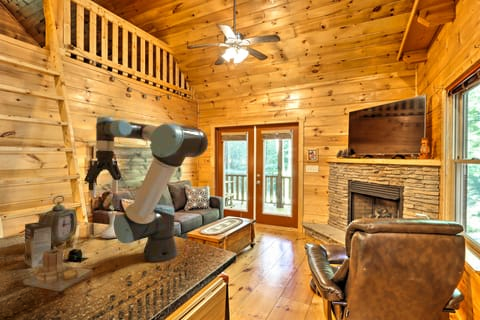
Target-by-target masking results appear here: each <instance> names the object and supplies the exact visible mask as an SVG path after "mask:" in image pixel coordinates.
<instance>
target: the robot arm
mask: <svg viewBox="0 0 480 320" xmlns="http://www.w3.org/2000/svg"><path fill="white" fill-rule="evenodd" d="M95 128H96V129H95V130H96V132H95V133H96V134H95V136H96V137H95V149H96V150H95V158H96V159H97V160H91V161H90V166H89V168H88V171H87V172H86V175H85V177H84V182H86V183H88V188H87V189H88V190H89V192H88V194H89V196H88V197H89V198H96V197H97V196H96V195H97V191H96V190H97V183H96V182H95V181H96V180H97V179H98V178H99V176H100V174H101V173H102V172H103V171H108V173H109V175H110V176H111V177H112V180H111V193H112V194H118V193H119V192H118V189H119V188H118V187H119V181H121V179H122V174H121V171H120V168H119V166H118V164H119V163H118V160H114V157H115V151H114V150H115V138H121V139H122V138H123V139H132V140H133V139H134V140H135V139H136V140H144V141H147V142H150V143H149V147H150V151H151V156H152V157H153V159H152V161H151V163H150V166H149V168H148V170H147V172H146V174H145V177H144V179H143V181H142V183H141V185H140V188H139V189H138V191H137V194H136V196H135V198H134V200H133V203H130V204H128V205H127V206H126V209H125V210H124V213H122V214H118V215H117V214H116V215H115V219H114V224H113V226H114V232H115V235H116V237H115V238H116V239H117V241H119V242H120V243H121V244H128V243H133V242H137V241H139V240H143V239H146V238H147V240H146V243H145V245H144V248H143V251H142V258H143V259H144V260H145V261H147V262H157V263H158V262H160V263H161V262H166V261H169V260H172V259H174V258H176V257H177V256H178V247H177V243H176V239H175V216H176V215H175V208H174V207H173V206H171V205H166V204H159V201H160V199H161V198H162V196H163V194H164V191H165V190H166V187H167V186H168V184H169V182H170V180H171V177H172V176H173V174H174V172H175V169H177V168H180V167H181V166H182V165H183V163H184V161H185V160H186V158H197V157H200V156H202V155H203V154H204V153H205V152H206V151H207V149H208V147H209V140H208V136H207V135H206V133H205V132H204V131H203V130H202V129H199V127H198V128H197V127H193V126H186V125H182V124H181V125H179V124H176V123H162V124H160V125H150V124H145V123H144V124H143V123H138V122H132V121H131V122H130V121H127V120H125V119H115V118H114V117H110V116H98V117H96V124H95Z"/></svg>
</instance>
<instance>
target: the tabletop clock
mask: <svg viewBox="0 0 480 320" xmlns="http://www.w3.org/2000/svg"><path fill="white" fill-rule="evenodd" d="M58 198H62V201H61V202H60V201H57V202H55V200H57V199H58ZM64 201H65V197H64V195H57V196H55V197H54V198H53V200H52V203H53V204H54V206H53V207H52V208H51V210H49V211H46V212H44V213H42V214H40V216H39V217H38V222H45V223H47V224H49V225H51V242H52V243H51V250H54V249H57V246H56V243H60V242H63V241H65V240H68V243H72V242H73V239H72V237H73V236H74V235H75V234H76V230H77V223H78V222H77V221H78V219H77V212H76V211H77V209H73V208H72V209H71V208H69V209H68V208H66V207H65V205H63V202H64Z"/></svg>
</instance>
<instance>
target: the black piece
mask: <svg viewBox="0 0 480 320" xmlns="http://www.w3.org/2000/svg"><path fill="white" fill-rule="evenodd" d="M64 259H65V260H64ZM64 259H63V261H69V262H68V263H76V264H81V263H83V262H85V261H87V260H88V259H90V257H85V256H84V257H83V251H82V249H79V248H73V249H71V250H69V251H68V253H67V257H66V258H64Z"/></svg>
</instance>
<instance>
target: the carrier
mask: <svg viewBox="0 0 480 320" xmlns="http://www.w3.org/2000/svg"><path fill="white" fill-rule="evenodd" d="M91 275H93V270H92V269H88V268H83V267H77V266H69V268H67V269H65V270H64V271H63V276H61V277H57V278H55V279H50V280H46V279H45V280H39V279H37V278H36V274H34V275H32V276H29V277H28V278H26V279H23V281H22V282H23V283H22V284H23V286H29V287H35V288H38V289H40V288H41V289H44V290H45V289H46V290H52V291H56V292H62V291H64V290H66V289H68V288H69V287H71V286H73V285H75V284H76V283H78V282H79V281H82V280H83V279H84V280H85V278H87V277H89V276H91Z"/></svg>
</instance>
